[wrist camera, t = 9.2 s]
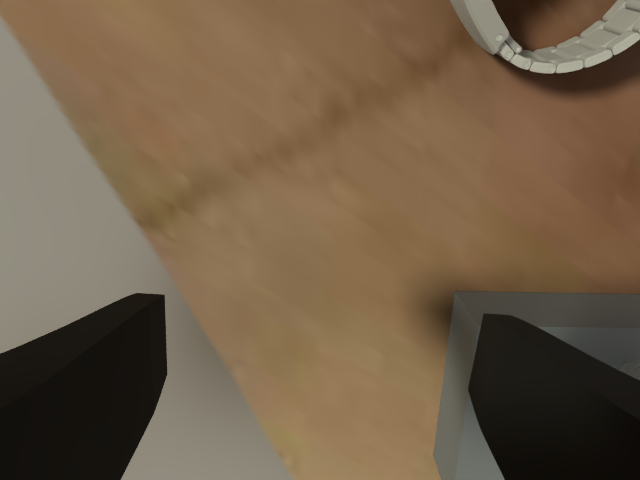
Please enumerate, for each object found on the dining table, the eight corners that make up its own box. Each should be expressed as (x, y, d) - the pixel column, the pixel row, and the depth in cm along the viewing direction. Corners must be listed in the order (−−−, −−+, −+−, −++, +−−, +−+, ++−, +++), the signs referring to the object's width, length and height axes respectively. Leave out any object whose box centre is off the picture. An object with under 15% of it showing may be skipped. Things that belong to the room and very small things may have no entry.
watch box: (698, 291, 21) (769, 330, 18) (648, 450, 24) (702, 508, 21) (451, 287, 21) (478, 325, 18) (431, 448, 24) (450, 507, 21)
